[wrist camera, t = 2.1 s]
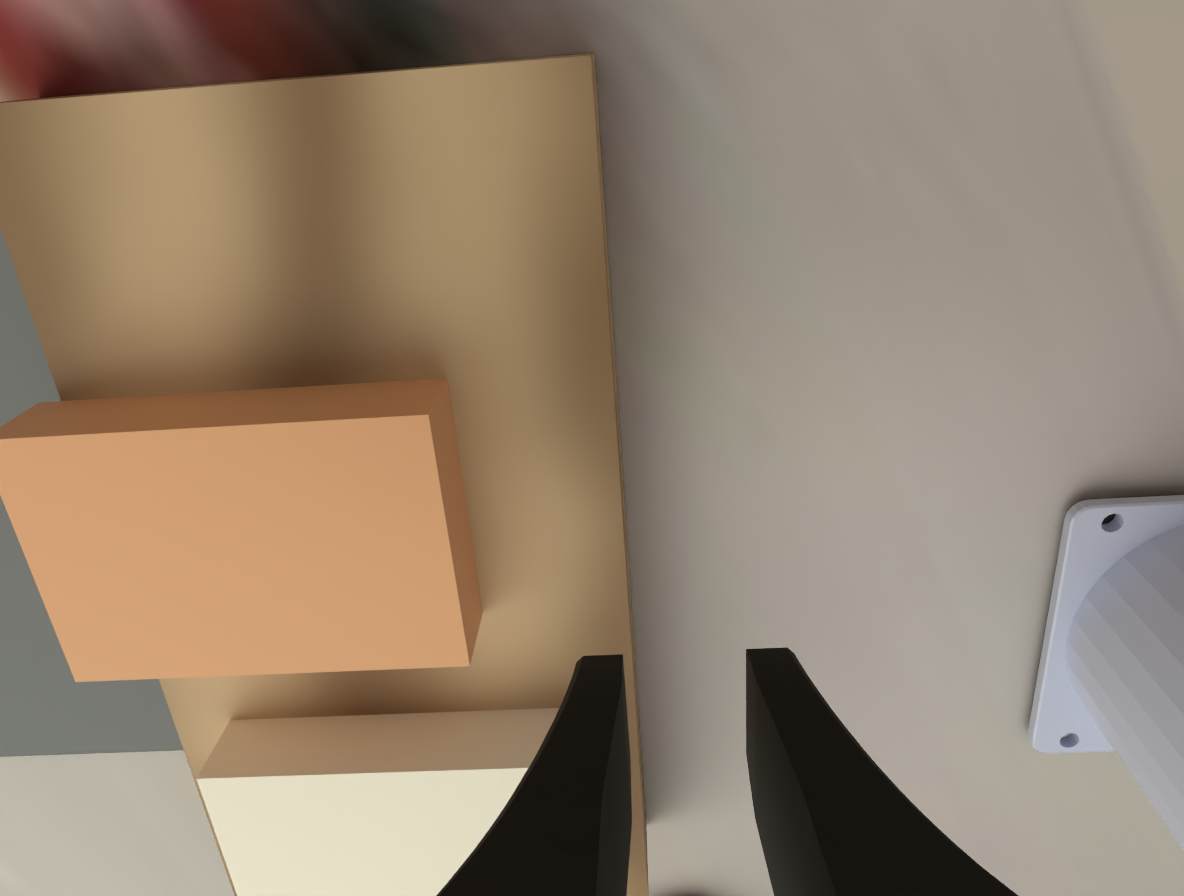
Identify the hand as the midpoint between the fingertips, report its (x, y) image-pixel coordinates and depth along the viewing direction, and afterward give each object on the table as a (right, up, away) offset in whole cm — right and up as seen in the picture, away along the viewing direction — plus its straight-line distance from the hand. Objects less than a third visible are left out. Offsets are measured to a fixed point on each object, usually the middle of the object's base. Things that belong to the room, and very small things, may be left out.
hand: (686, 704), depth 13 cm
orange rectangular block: (-9, +2, +7) cm, 11 cm away
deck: (-7, +2, +10) cm, 12 cm away
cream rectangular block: (-6, -6, +10) cm, 13 cm away
